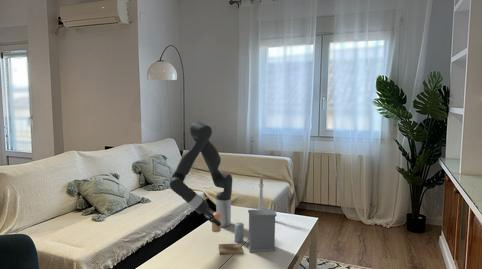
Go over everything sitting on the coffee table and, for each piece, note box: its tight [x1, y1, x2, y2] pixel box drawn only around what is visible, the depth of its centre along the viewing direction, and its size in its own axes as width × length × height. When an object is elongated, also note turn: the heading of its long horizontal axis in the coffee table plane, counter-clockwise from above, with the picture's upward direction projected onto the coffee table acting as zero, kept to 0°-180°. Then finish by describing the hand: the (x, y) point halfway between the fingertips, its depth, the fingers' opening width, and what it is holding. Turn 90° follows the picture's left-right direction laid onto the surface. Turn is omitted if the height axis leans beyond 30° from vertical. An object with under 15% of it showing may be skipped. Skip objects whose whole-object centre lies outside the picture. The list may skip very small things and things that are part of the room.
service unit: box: [247, 208, 277, 253], centre depth 184 cm, size 8×14×20 cm, turn 97°
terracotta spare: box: [211, 211, 222, 233], centre depth 191 cm, size 5×5×10 cm
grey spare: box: [234, 222, 245, 244], centre depth 193 cm, size 5×5×10 cm
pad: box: [218, 243, 243, 256], centre depth 183 cm, size 10×12×1 cm
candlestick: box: [257, 174, 265, 210], centre depth 229 cm, size 13×13×30 cm
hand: (219, 223), depth 191 cm, fingers closed on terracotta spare, 5 cm apart
